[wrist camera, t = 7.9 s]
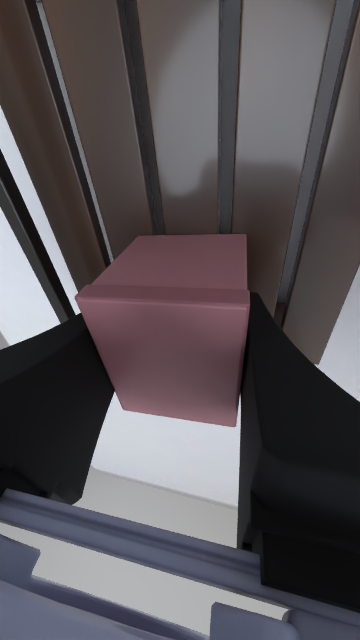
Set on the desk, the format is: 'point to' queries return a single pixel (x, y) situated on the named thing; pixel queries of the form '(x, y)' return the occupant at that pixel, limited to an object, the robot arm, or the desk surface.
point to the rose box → (173, 325)
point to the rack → (186, 142)
